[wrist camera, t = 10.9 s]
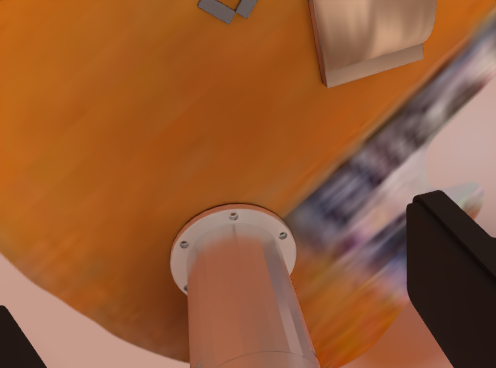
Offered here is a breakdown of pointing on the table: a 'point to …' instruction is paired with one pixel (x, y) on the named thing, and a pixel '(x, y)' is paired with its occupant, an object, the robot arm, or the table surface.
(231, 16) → the grey piece
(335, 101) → the table surface
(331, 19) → the lane
